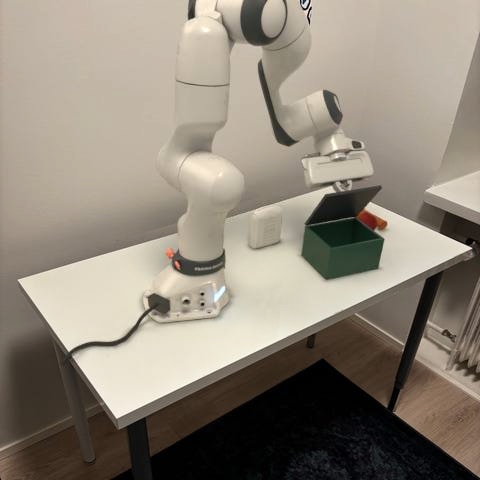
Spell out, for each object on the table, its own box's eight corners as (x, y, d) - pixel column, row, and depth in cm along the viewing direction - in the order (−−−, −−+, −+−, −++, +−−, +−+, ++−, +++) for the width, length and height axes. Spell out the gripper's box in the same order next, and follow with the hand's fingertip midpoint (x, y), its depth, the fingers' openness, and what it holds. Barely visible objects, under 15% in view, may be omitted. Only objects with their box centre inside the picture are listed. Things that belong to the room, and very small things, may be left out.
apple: (374, 242, 160) (379, 219, 155) (349, 239, 161) (353, 216, 156) (374, 231, 166) (378, 208, 161) (349, 228, 167) (353, 206, 162)
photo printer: (273, 236, 161) (276, 200, 153) (281, 242, 158) (284, 205, 151) (247, 244, 156) (248, 207, 149) (255, 250, 153) (256, 213, 146)
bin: (378, 268, 147) (384, 238, 141) (326, 280, 141) (330, 249, 135) (350, 245, 157) (355, 217, 151) (301, 255, 152) (304, 226, 146)
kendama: (376, 221, 162) (340, 193, 175) (375, 236, 167) (339, 208, 180) (391, 214, 164) (354, 188, 177) (389, 229, 168) (353, 202, 181)
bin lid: (382, 187, 137) (381, 185, 137) (326, 196, 131) (325, 193, 131) (356, 216, 151) (355, 214, 151) (305, 226, 145) (304, 223, 146)
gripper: (304, 149, 133) (318, 198, 132) (368, 141, 140) (382, 188, 139) (294, 160, 139) (308, 207, 138) (357, 152, 146) (370, 197, 145)
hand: (346, 198), depth 138 cm, fingers closed, pressing on bin lid
